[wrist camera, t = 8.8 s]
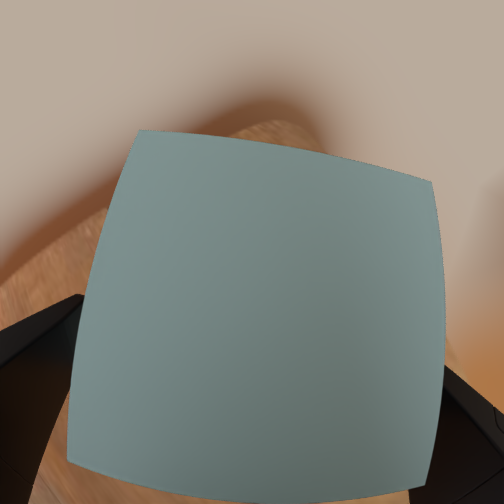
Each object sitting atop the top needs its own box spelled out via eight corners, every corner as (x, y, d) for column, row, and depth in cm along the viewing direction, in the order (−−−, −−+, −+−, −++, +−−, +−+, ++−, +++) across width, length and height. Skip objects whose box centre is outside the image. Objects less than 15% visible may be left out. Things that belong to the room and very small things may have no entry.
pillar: (274, 394, 16) (424, 485, 3) (187, 383, 16) (67, 461, 3) (284, 310, 18) (431, 181, 5) (199, 298, 17) (139, 130, 4)
